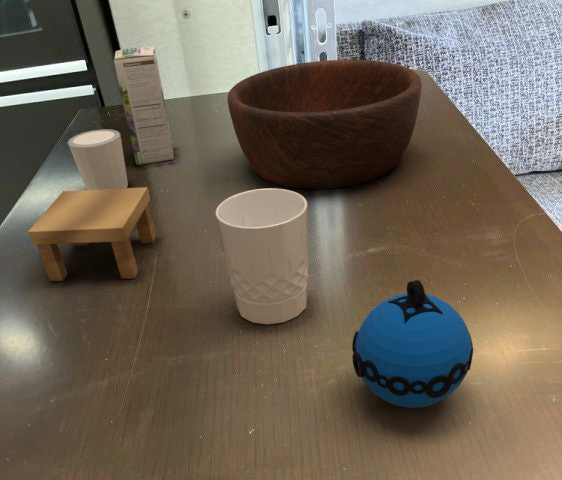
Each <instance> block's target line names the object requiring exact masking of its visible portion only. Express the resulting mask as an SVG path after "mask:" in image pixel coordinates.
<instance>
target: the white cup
mask: <svg viewBox="0 0 562 480" xmlns="http://www.w3.org/2000/svg"><path fill="white" fill-rule="evenodd" d="M215 218H216V222H217V223H216V224H217V227H218V232H219V236H220V241H221V247H222V250H223V256H224V261H225V265H226V269H227V272H228V278H229V281H230V287H231V289H232V291H233V297H234V301H235V306H236V309H237V311H238V313H239V315H240V317H242V319H243V318H244V319H245V320H247V321H249V322H250V323H254V324H261V325H275V324H282V323H286V322H288V321H290V320H292V319H295V318H297V317H298V316H299V315H300V314H301V313H302V312H304V311H305V310H306V308H307V303H308V280H309V233H308V232H309V228H308V222H309V221H308V202H307V199H306V198H305V197H304V196H303V195H302V194H300V193H299V192H296V191H293V190H291V189H290V190H289V189H284V188H276V187H275V188H273V187H272V188H271V187H270V188H257V189H251V190H245V191H242V192H240V193H236V194H234V195H231V196H229V197H227V198H226V199H224V200H223V201H221V202H220V203H219V204H218V205H217V207H216V209H215Z"/></svg>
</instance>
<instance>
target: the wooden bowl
mask: <svg viewBox="0 0 562 480" xmlns="http://www.w3.org/2000/svg"><path fill="white" fill-rule="evenodd" d="M422 87H423V83H422V79H421V77H420V75H419V74H418V73H417V72H415V71H414V70H413V69H410V68H409V67H406V66H403V65H400V64H396V63H392V62H386V61H379V60H370V59H369V60H368V59H331V60H330V59H329V60H318V61H308V62H301V63H295V64H289V65H285V66H280V67H276V68H275V67H274V68H271V69H267V70H265V71H261V72H258V73H255V74H253V75H252V74H251V75H249V76H247V77H246V78H244V79H242V80H240V81H239V82H236V84H235V85H233V87H232V88H231V89H230V90H229V91H228V93H227V107H228V111H229V114H230V119H231V122H232V125H233V129H234V133H235V135H236V139H237V141H238V144H239V147H240V149H241V151H242V153H243V156H244V157H245V159H246V161H247V162H248V164H249V165H250V166H251V168H252V169H253V170H254V171H255V172H256V173H257V175H259V176H261V178H263V179H264V180H266V181H268V182H270V183H273V184H276V185H278V186H282V187H287V188H295V189H305V190H325V189H326V190H327V189H336V188H343V187H344V188H345V187H351V186H355V185H359V184H362V183H367V182H369V181H372V180H375V179H377V178H379V177H381V176H383V175H384V174H386V173H388V172H389V171H390V170H392V169H393V168H394V167H395V166H396V165H397V164H398V163H399V161H400V160H401V158H403V155H404V154H405V152H406V150H407V148H408V146H409V144H410V141H411V139H412V136H413V133H414V130H415V126H416V123H417V117H418V113H419V106H420V101H421V96H422V90H423V88H422Z"/></svg>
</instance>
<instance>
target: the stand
mask: <svg viewBox="0 0 562 480" xmlns="http://www.w3.org/2000/svg"><path fill="white" fill-rule="evenodd" d="M150 202H151V195H150V192H149V187H147V186H146V187H144V186H143V187H127V188H122V189H102V190H86V189H84V190H82V189H81V190H65V191H64V190H63V191H61V193H60V194H59V195H58V196H57V197H56V198H55V200H54V201H53V202H52V204H51V205H50V206H49V207H48V208H47V209H45V211H44V212H43V214H42V215H41V216H40V217H39V218H38V220H37V221H36V222H35V223H34V224H33V225H32V226H31V228H29V230H28V231H27V233H28V235H29V236H28V237H29V238H30V241H31V243H32V245H36V248H37V250H38V253H39V255H40V258H41V260H42V263H43V266H44V269H45V271H46V274H47V277H48V280H49V281H50V282H63V281H64V280H65V278H66V277H67V275H68V271H67V268H66V265H65V261H64V259H63V257H62V254H61V250H60V248H59V245H58V244H74V246H76V247H77V246H78V247H79V246H80V247H81V246H89V244H90V243H110V244H111V247H112V250H113V254H114V258H115V262H116V265H117V268H118V271H119V276H120V278H121V280H128V279H129V280H133V279H136V278H137V275H138V273H139V269H138V265H137V262H136V258H135V254H134V250H133V247H132V242H131V238H130V235H131V233H132V231H133V230H134V228H135V227H136V229H137V233H138V237H139V241H140V243H141V244H154V242H155V241H156V239H157V234H156V230H155V225H154V221H153V217H152V212H151V208H150V204H149V203H150Z"/></svg>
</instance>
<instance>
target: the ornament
mask: <svg viewBox="0 0 562 480" xmlns="http://www.w3.org/2000/svg"><path fill="white" fill-rule="evenodd" d="M351 348H352V352H353V353H352V356H351V357H352V366H353V369H354V372H355V374H356V376H357V377H358V378H359V379H362V381H363V382H364V383H365V385H366V386H367V387H368V388H369V390H370V391H371V392H372V393H373V394H374V395H375V396H377V397H379V398H380V399H381V400H383V401H385V402H387V403H389V404H391V405H394V406H397V407H402V408H409V409H410V408H412V409H413V408H415V409H416V408H417V409H418V408H425V407H429V406H432V405H436V404H437V403H439V402H442V401H443V400H445V399H446V398H448V397H449V396H451V394H452V393H454V392H455V391H456V390H457V389H458V388H459V387H460V385H461V384H462V383H463V381H464V379H465V378H466V376H467V374H468V372H469V371H471V367H472V362H473V356H474V346H473V340H472V336H471V333H470V331H469V328H468V326H467V324H466V322H465V320H464V319H463V317H462V316H461V314H459V312H458V311H457V310H456V309H455V308H454V307H452V306H451V305H450V304H449V303H447V302H446V301H444V300H442V299H440V298H438V297H436V296H433V295H431V294H426V292H425V288H424V284H423V283H422V282H421V281H420V280H419V279H416V280H412V281H408V282H407V285H406V293H400V294H398V295H394V296H392V297H390V298H388V299H385V300H383V301H382V302H380V303H379V304H377V305H376V306H375V307H374V308H373V309H371V310H370V312H369V313H368V314H367V315H366V317H365V318H364V320H363V321H362V323H361V325H360V326H359V330H357V331H355V333H354V335H353V337H352V345H351Z"/></svg>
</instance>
